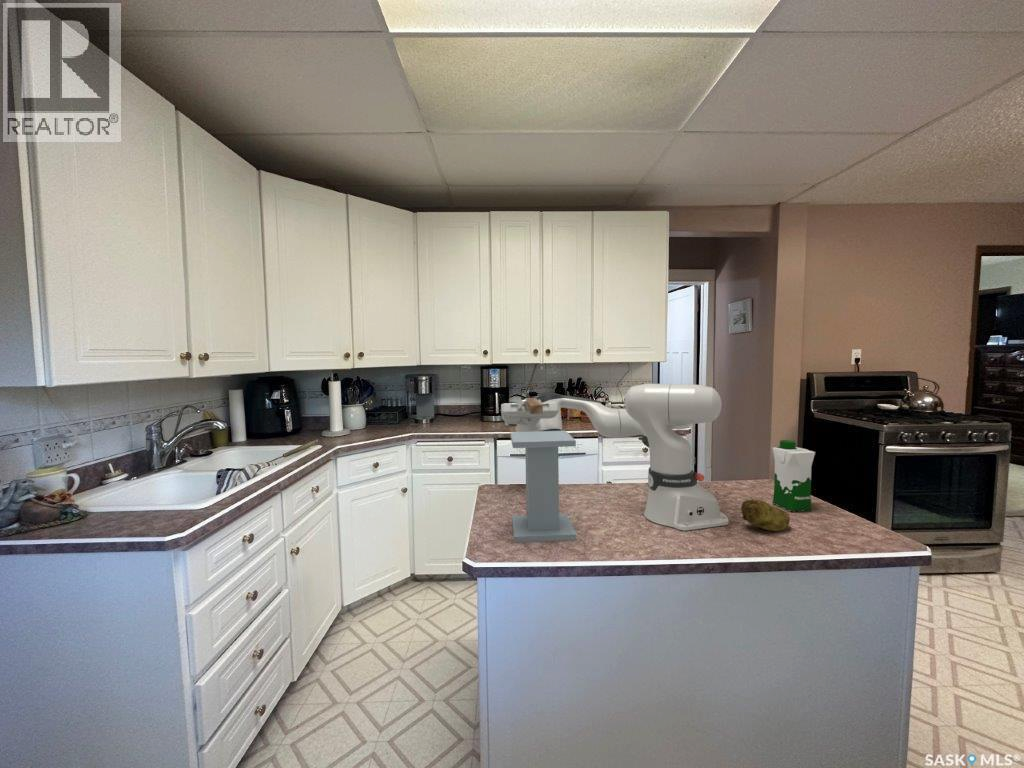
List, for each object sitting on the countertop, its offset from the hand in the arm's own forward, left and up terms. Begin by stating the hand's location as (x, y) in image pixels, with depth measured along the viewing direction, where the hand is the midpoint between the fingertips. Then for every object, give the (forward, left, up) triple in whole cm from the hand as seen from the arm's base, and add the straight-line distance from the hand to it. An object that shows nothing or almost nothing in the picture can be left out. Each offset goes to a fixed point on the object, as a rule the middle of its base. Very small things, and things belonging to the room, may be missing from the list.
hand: (531, 401), depth 135 cm
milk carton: (-78, +18, -33) cm, 87 cm away
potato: (-60, +32, -33) cm, 75 cm away
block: (0, +6, -2) cm, 6 cm away
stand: (0, +27, -32) cm, 42 cm away
